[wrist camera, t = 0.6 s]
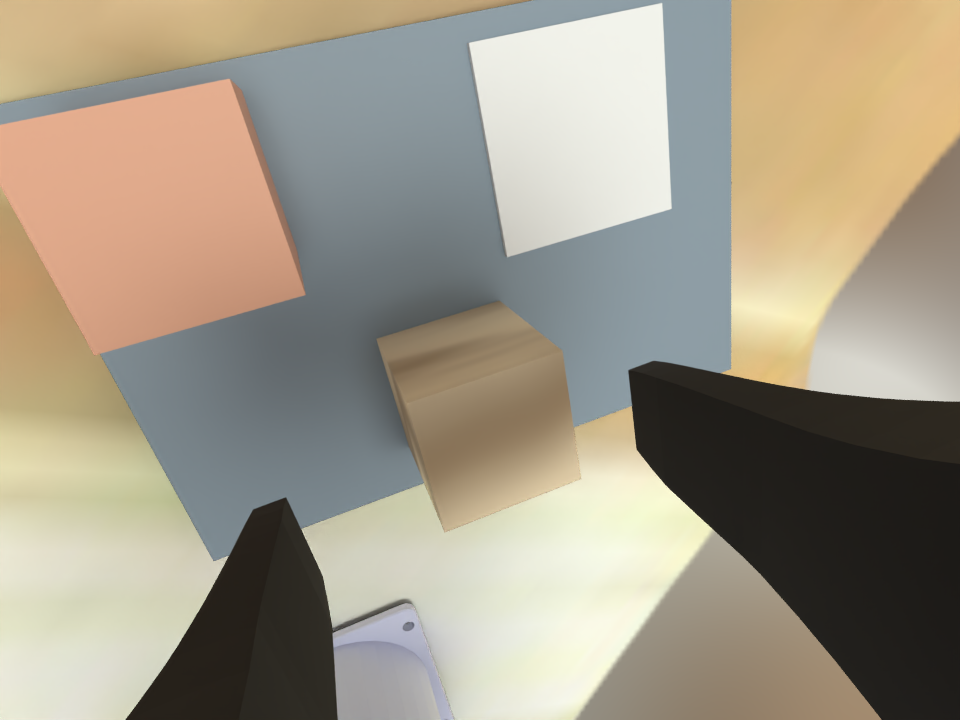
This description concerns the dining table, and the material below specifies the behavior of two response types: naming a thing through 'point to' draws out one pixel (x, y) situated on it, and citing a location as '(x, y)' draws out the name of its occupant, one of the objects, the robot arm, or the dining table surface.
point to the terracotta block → (152, 212)
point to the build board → (446, 234)
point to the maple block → (482, 410)
